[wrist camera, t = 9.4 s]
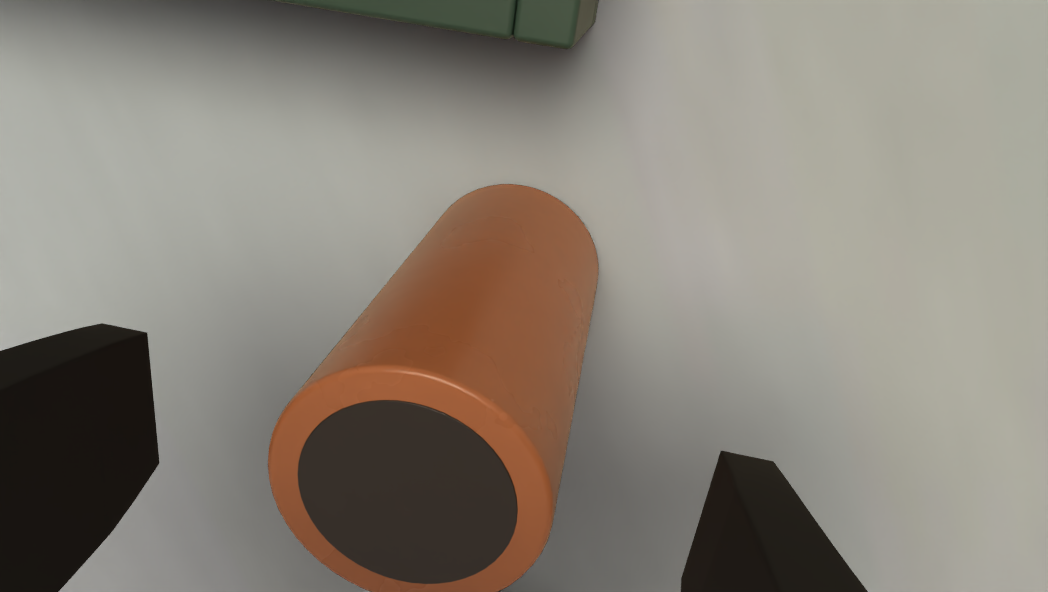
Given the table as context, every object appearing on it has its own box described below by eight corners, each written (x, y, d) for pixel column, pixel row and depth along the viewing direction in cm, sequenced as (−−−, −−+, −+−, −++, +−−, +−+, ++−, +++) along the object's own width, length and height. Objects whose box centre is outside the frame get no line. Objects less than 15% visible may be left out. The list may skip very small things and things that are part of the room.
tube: (423, 325, 16) (266, 573, 9) (437, 168, 14) (261, 339, 8) (582, 356, 15) (530, 636, 9) (613, 200, 14) (576, 405, 8)
